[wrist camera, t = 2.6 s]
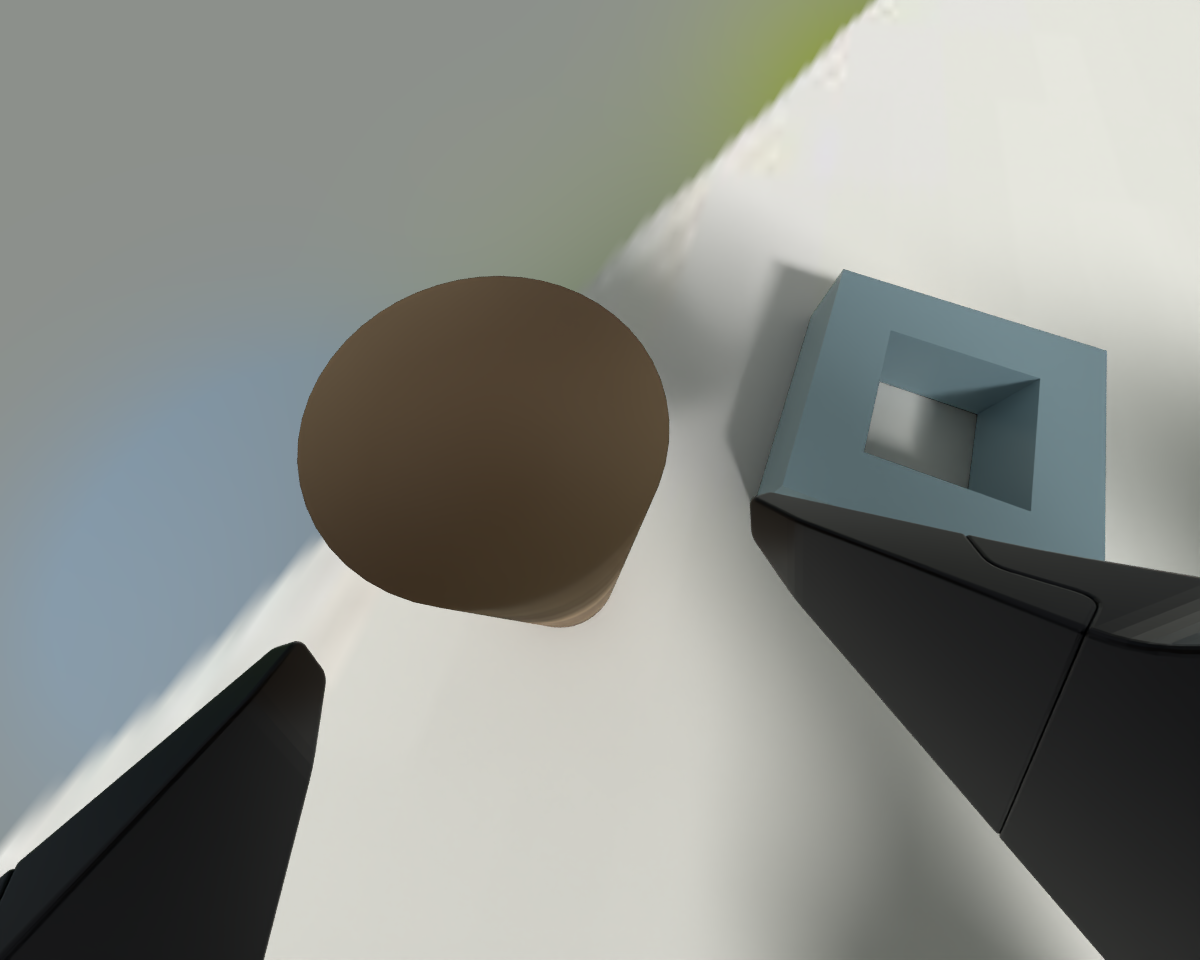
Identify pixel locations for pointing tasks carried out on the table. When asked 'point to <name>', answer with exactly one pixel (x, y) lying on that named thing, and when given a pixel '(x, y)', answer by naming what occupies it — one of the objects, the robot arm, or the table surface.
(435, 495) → the walnut peg
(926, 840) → the table surface
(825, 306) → the socket block
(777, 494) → the robot arm
